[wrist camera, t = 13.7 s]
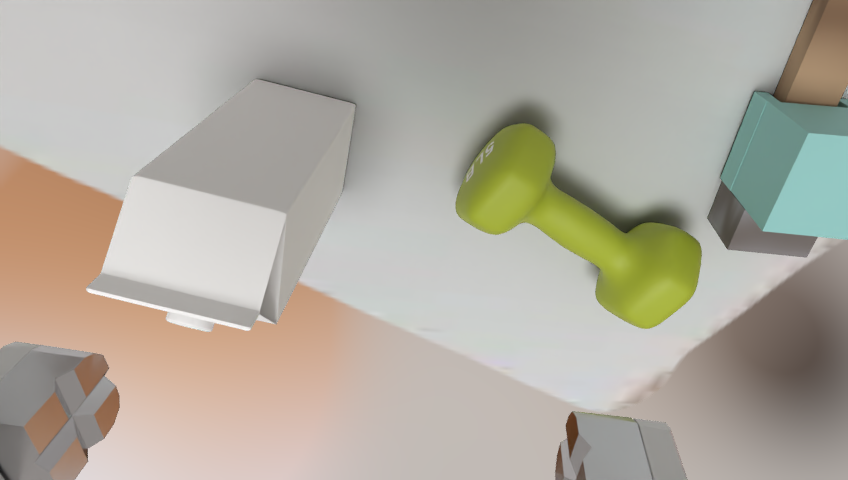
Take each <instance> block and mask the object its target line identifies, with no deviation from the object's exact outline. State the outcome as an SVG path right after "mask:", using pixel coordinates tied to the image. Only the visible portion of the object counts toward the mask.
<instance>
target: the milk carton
mask: <svg viewBox="0 0 848 480" xmlns="http://www.w3.org/2000/svg"><path fill="white" fill-rule="evenodd" d="M355 108H356V106H355V104H353V103H349V102H346V101H342V100H338V99H334V98H330V97H326V96H322V95H318V94H314V93H311V92H307V91H303V90H299V89H295V88H291V87H287V86H283V85H279V84H275V83H271V82H267V81H263V80H259V79H255V80H253V81H252V82H251V83H249V84H248V85H247V86H246V87H244V88H243V89H242V90H241V91H239V92H238V93H237V94H236V95H234V96H233V97H232V98H231V99H229V100H228V101H227V102H226V103H224V104H223V105H222V106H221V107H219V108H218V109H217V110H215V111H214V112H213V113H212V114H210V115H209V116H208V117H207V118H205V119H204V120H203V121H202V122H200V123H199V124H198V125H197V126H195V127H194V128H193V129H192V130H190V131H189V132H188V133H187V134H185V135H184V136H183V137H181V138H180V139H179V140H178V141H176V142H175V143H174V144H173V145H171V146H170V147H169V148H168V149H166V150H165V151H164V152H163V153H161V154H160V155H159V156H158V157H156V158H155V159H154V160H153V161H151V162H150V163H149V164H148V165H146V166H145V167H144V168H142V169H141V170H140V171H139V172H137V173H136V174H135V175H133V176H132V177H131V181H130V184H129V187H128V190H127V193H126V196H125V199H124V202H123V206H122V209H121V212H120V215H119V218H118V221H117V225H116V227H115V231H114V234H113V237H112V240H111V243H110V246H109V250H108V252H107V256H106V259H105V262H104V265H103V268H102V272H101V274H100V275H99V276H98V277H97V278H96V279H95V280H94V281H93V282H92V283H90V284H89V285H88V286H87V288H86V290H87V291H88V292H89V293H93V294H97V295H102V296H106V297H110V298H114V299H118V300H122V301H126V302H131V303H135V304H139V305H143V306H147V307H151V308H155V309H159V310H164V311H168V314H167V316H166V320H167V321H168V322H171V323H174V324H177V325H181V326H185V327H189V328H193V329H197V330H202V331H206V332H209V331H212V329H213V326H214V323H218V324H222V325H226V326H230V327H234V328H238V329H242V330H247V331H248V330H251V328H252V326H253V325H254V323H255V321H256V320H259V321H264V322H268V323H272V324H277V322H278V320H279V318H280V316H281V314H282V312H283V310H284V308H285V306H286V304H287V302H288V300H289V298H290V296H291V294H292V292H293V290H294V288H295V286H296V284H297V282H298V280H299V278H300V276H301V274H302V272H303V270H304V268H305V266H306V264H307V262H308V260H309V258H310V256H311V254H312V252H313V250H314V248H315V246H316V244H317V242H318V240H319V238H320V236H321V234H322V232H323V230H324V228H325V226H326V224H327V222H328V220H329V218H330V216H331V214H332V212H333V210H334V208H335V206H336V204H337V202H338V200H339V198H340V196H341V194H342V192H343V185H344V179H345V172H346V166H347V160H348V153H349V147H350V140H351V134H352V128H353V121H354V115H355Z"/></svg>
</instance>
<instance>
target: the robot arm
mask: <svg viewBox="0 0 848 480" xmlns="http://www.w3.org/2000/svg"><path fill="white" fill-rule="evenodd" d="M108 369H109V367H108V364H107V362H106V360H105V358H104V356H103V355H101V354H96V353H90V352H84V351H77V350H70V349H64V348H57V347H51V346H44V345H35V344H29V343H21V342H14V343H11V344H8V345H6V346H3V347H2V348H1V349H0V480H75V479H76V477H77V476H78V474H79V473H80V472H81V470H82V469H83V467H84V466H85V465H86V463H87V462H88V448H90V447H91V446H93V445H95V444H96V443H98V442H99V441H101V440H103V439H104V438H105V437H106V435H107V434H108V432H109V431H110V429H111V428H112V426H113V425H114V423H115V419H116V417H117V413H118V411H119V408H120V404H119V393H118V390H117V387H116V386H115V385H114V384H113V383H112V382H111V381H110V380H108V379H107V378H106V377H105V374H106V372H107V371H108ZM566 432H567V439H565V440H564V441H562V442H561V443H560V446H559V450H558V454H557V461H556V470H555V477H556V480H687V477H686V474H685V471H684V468H683V465H682V462H681V459H680V456H679V453H678V450H677V447H676V444H675V441H674V438H673V435H672V432H671V429H670V427H669V426H668V425H667V424H666V423H665V422H658V421H648V420H640V419H632V418H629V417H620V416H611V415H601V414H593V413H584V412H575V411H572V412H571V414H570V415H569V417H568V420H567V423H566Z"/></svg>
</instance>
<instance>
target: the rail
mask: <svg viewBox="0 0 848 480" xmlns="http://www.w3.org/2000/svg"><path fill="white" fill-rule="evenodd" d="M847 85H848V0H813V2H812V4H811V7H810V9H809V11H808V14H807V16H806V19H805V21H804V23H803V26H802V28H801V31H800V33H799V35H798V38H797V40H796V43H795V45H794V47H793V50H792V52H791V55H790V57H789V59H788V62H787V64H786V67H785V69H784V71H783V74H782V76H781V79H780V81H779V83H778V86H777V88H776V91H775V93H774V95H773V97H774V98H776V99H777V100H779V101H780V102H785V103H797V104H809V105H820V106H832V107H837V105H838V103H839V101H840V99H841V97H842V95H843V93H844V91H845V89H846V87H847ZM707 219H708V220H709V222H710V223H711V225H712V226H713V228H714V229H715V231H716V232H717V234H718V236H719V237H720V239H721V240H722V242H723V243H724V245H725V246H726V248H727V249H728V250H738V251H748V252H757V253H767V254H777V255H787V256H797V257H807V256H808V254H809V252H810V250H811V248H812V247H813V245H814V243H815V241H816V239H817V237H816V236H806V235H796V234H786V233H775V232H765V231H762V230H761V229H760V228H759V226H758V225H757V224H756V222H755V221H754V220H753V219H752V217H751V216H750V215H749V214H748V212H747V211H746V210H745V208H744V207H743V206H742V205H741V203H740V202H739V201H738V199H737V198H736V197H735V196H734V194H733V193H732V192H731V191H730V190H729V189H728V188H727V186H726V185H725V184H724V182H723V181H722V183H721V185H720V188H719V190H718V193H717V195H716V198H715V201H714V203H713V206H712V208H711V211H710V213H709V216H708V218H707Z"/></svg>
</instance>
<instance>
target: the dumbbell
mask: <svg viewBox="0 0 848 480" xmlns="http://www.w3.org/2000/svg"><path fill="white" fill-rule="evenodd" d="M555 156H556V151H555V145H554V143H553V142H552V140H551V139H550V138H549V137H548V136H547V135H546V134H545V133H543V132H542V131H540V130H539V129H537V128H536V127H535V126H533V125H530V124H525V123H521V124H515V125H510V126H507V127H505V128H504V129H502V130H501V131H499V132H498V133H497V134H496V135H495V136H494V137H493V138H492V139H491V140H490V141H489V142H488V143H487V144H486V145H485V147H484V148H483V149H482V150H481V152H480V153H479V154H478V156H477V157H476V158H475V160H474V161H473V163H472V164H471V166H470V168H469V169H468V171H467V173H466V176H465V178H464V180H463V183H462V185H461V187H460V190H459V192H458V195H457V199H456V212H457V214H458V216H459V217H460V218H461V219H463V220H464V221H465V222H467V223H469V224H470V225H472V226H473V227H475V228H477V229H479V230H481V231H483V232H486V233H488V234H495V235H498V234H502V233H505V232H507V231H509V230H511V229H512V228H514V227H515V226H517V225H518V224H520V223H530V224H532V225H534V226H536V227H537V228H538V229H540V230H541V231H542V232H544V233H545V234H546V235H548V236H549V237H550V238H552V239H553V240H555V241H556V242H557V243H559V244H560V245H561V246H563V247H564V248H566V249H568V250H569V251H571V252H573V253H575V254H576V255H578V256H580V257H582V258H584V259H586V260H587V261H589V262H591V263H593V264H594V265H596V266H597V267H599V268H600V271H599V275H598V280H597V285H596V291H595V294H596V299H597V300H598V302H599V303H600V304H601V305H602V306H603V307H604V308H605V309H606V310H608V311H609V312H611V313H612V314H614V315H616V316H617V317H619V318H620V319H622V320H624V321H626V322H628V323H630V324H632V325H634V326H637V327H639V328H643V329H649V328H652V327H655V326H657V325H658V324H660V323H661V322H663V321H664V320H666V319H667V318H668V317H669V316H671V315H672V314H673V313H674V312H676V311H677V310H678V309H680V308H681V307H682V306H683V305H684V304H686V303H687V302H688V301H689V300H690V298H691V297H692V296H693V294H694V292H695V290H696V287H697V283H698V278H699V272H700V266H701V256H702V250H701V246H700V243H699V242H698V241H697V240H696V239H695V238H694V237H692V236H691V235H689V234H688V233H687V232H685V231H683V230H681V229H679V228H676V227H674V226H670V225H666V224H661V223H653V222H648V223H643V224H640V225H638V226H636V227H635V228H633V229H632V230H630V231H629V232H628V233H624V232H622V231H620V230H619V229H618V228H616V227H615V226H614V225H613V224H611V223H610V222H609V221H607V220H606V219H604V218H603V217H602V216H600V215H599V214H598V213H596V212H595V211H593V210H592V209H590V208H589V207H587V206H586V205H584V204H582V203H581V202H579V201H578V200H576V199H574V198H573V197H571V196H569V195H568V194H566V193H564V192H562V191H561V190H559V189H558V188H557V187H555V186H554V184H553V183H552V181H551V178H550V177H551V174H552V171H553V167H554V164H555Z"/></svg>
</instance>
